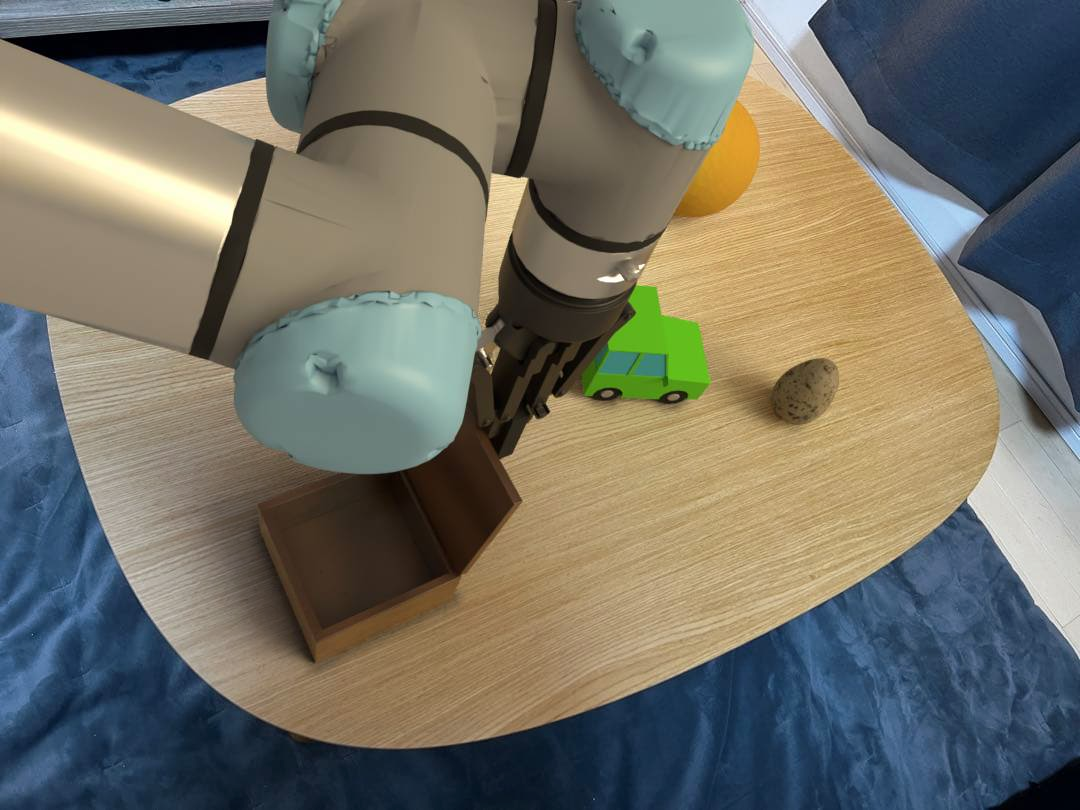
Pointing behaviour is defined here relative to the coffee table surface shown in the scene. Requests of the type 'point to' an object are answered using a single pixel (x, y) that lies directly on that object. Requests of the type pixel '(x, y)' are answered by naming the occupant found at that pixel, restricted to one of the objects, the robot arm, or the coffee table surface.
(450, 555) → the chest lid
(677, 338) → the toy car
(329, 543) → the chest
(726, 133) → the emoji
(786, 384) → the decorative egg
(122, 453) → the coffee table surface
